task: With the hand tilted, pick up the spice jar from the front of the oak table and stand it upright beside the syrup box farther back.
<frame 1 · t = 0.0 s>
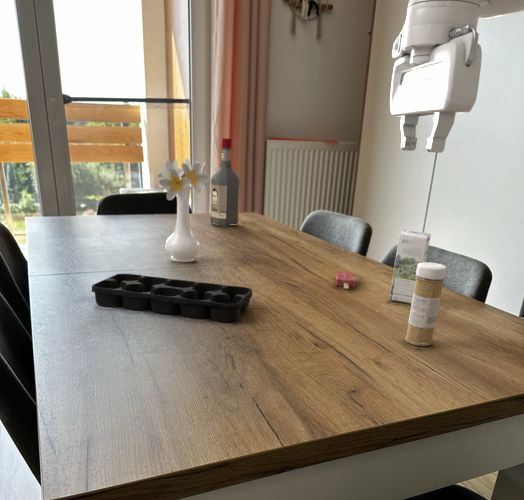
hand: (420, 151, 71), 30 cm above the table, tool pointing down, fingers open, 8 cm apart
flower vase: (184, 261, 135), on the table
liquor: (224, 225, 193), on the table
spice jar: (418, 343, 88), on the table
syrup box: (404, 301, 111), on the table
egg carton: (173, 306, 99), on the table
popsicle: (345, 285, 121), on the table
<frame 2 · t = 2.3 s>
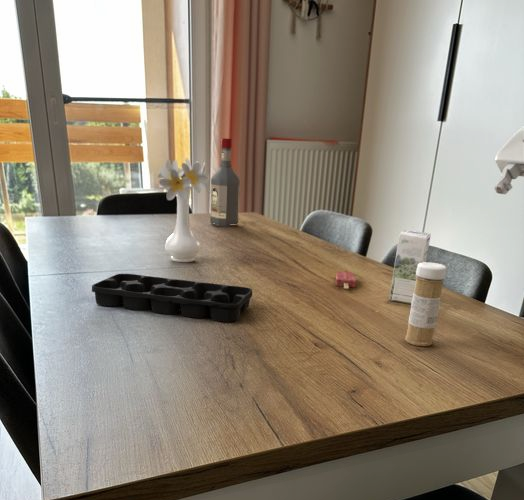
hand: (522, 194, 76), 25 cm above the table, tool tilted 45°, fingers open, 8 cm apart
nothing on the table moved.
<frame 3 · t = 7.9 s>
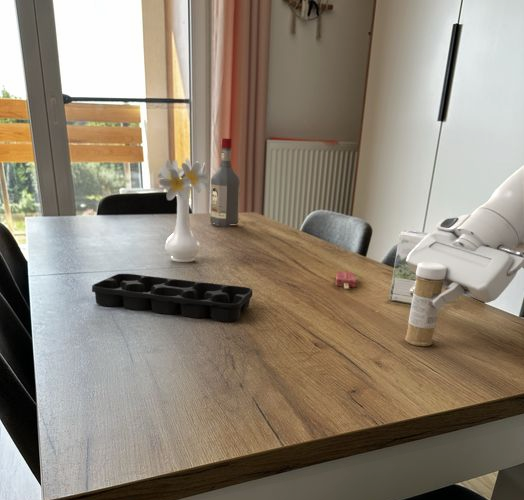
hand: (422, 300, 85), 7 cm above the table, tool tilted 45°, fingers closed on spice jar, 4 cm apart
spice jar: (417, 343, 88), on the table, touching gripper
everything else where it was.
when the fingers open (7 cm above the table, at t = 15.7 s): spice jar stays where it is, on the table.
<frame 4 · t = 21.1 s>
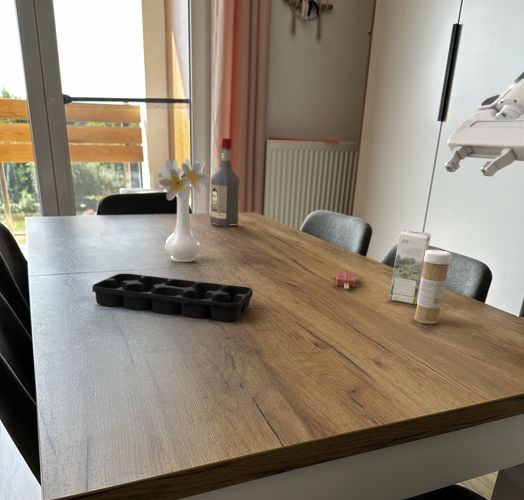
hand: (465, 171, 89), 27 cm above the table, tool tilted 45°, fingers open, 8 cm apart
spice jar: (425, 322, 98), on the table
everything else where it was.
at the end: spice jar inside the target area on the table beside the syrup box (0.5 cm from its centre), on the table; spice jar tilted 0°; the gripper is holding nothing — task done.
